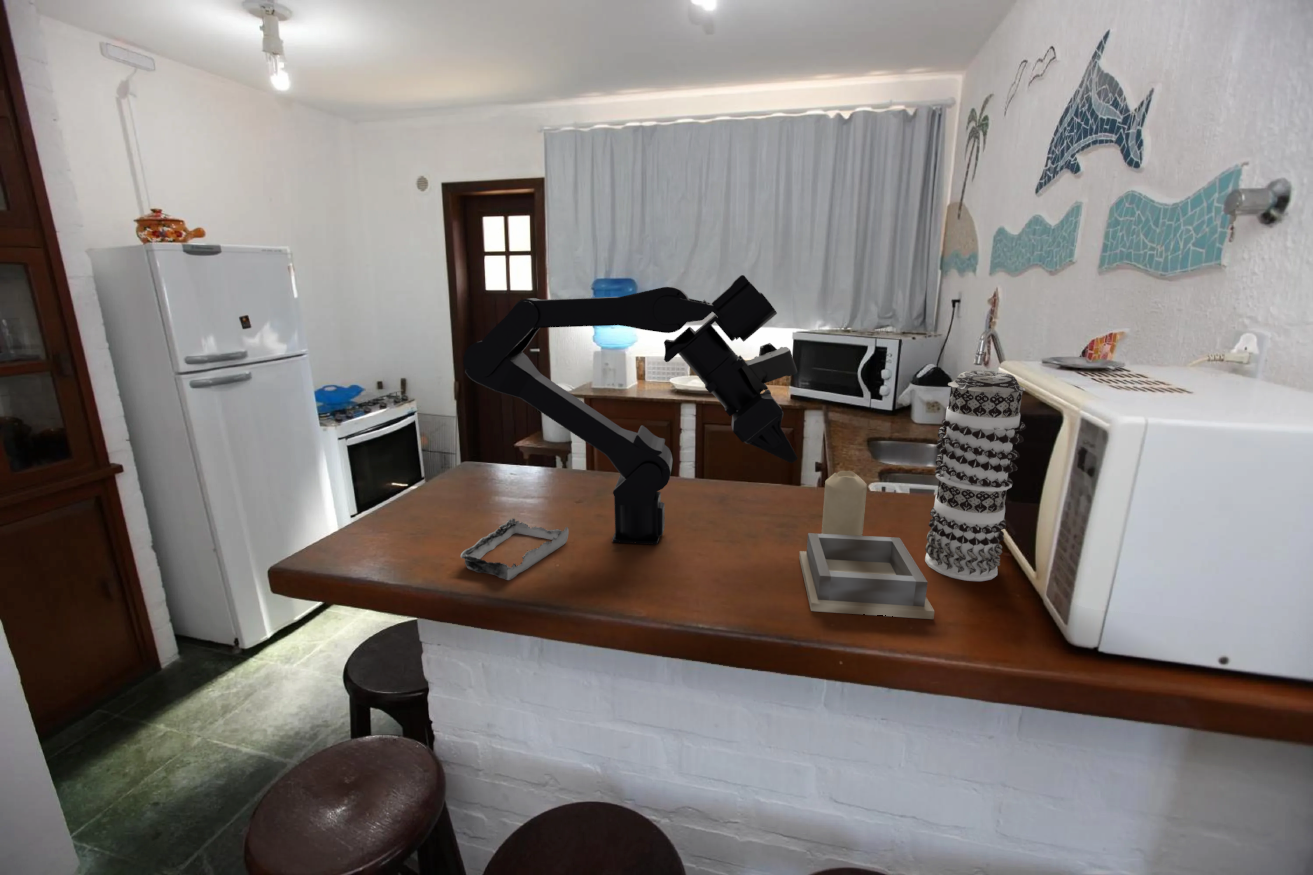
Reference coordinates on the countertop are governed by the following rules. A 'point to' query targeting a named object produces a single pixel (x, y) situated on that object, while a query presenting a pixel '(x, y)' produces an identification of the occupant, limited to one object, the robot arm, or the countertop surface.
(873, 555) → the square tray
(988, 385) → the decorative candle
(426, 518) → the countertop surface
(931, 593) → the countertop surface
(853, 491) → the candle
